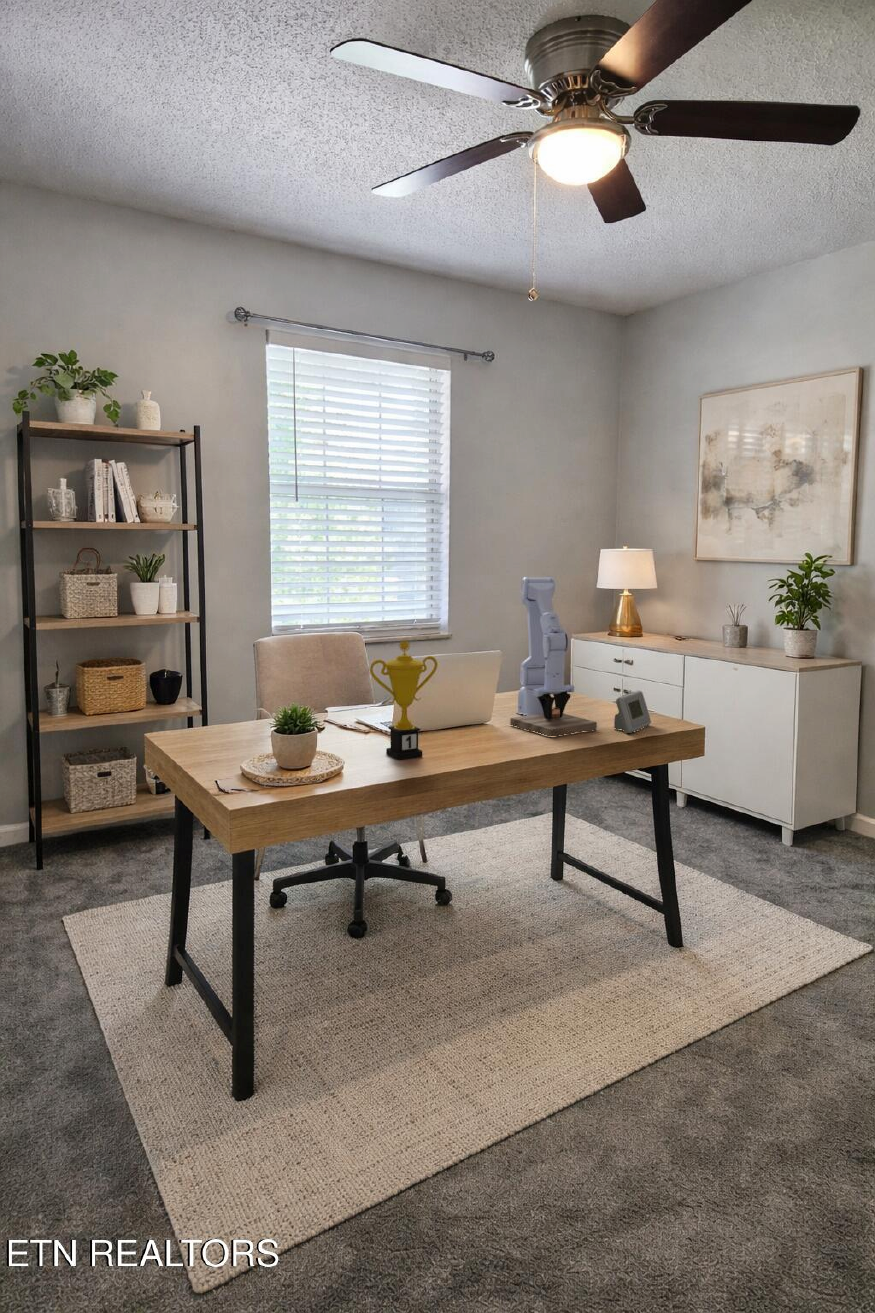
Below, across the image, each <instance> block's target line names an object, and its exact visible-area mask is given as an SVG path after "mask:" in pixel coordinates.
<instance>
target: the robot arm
mask: <svg viewBox="0 0 875 1313" xmlns="http://www.w3.org/2000/svg"><path fill="white" fill-rule="evenodd" d="M555 591H556V583H555V579H554V578H553V577H552V576H549V577H538V576H537V577H535V576H534V577H527V576H524V577H522V579H521V581H520V600H521V604H522V605H524V606H525V607H526V612H527V614H526V616H527V635H528V636H527V638H528V640H527V641H528V643H527V644H528V657H527V658H526V659H524V660H523V661H522V662H521V663H520V671H519V680H520V681H519V683H520V684H521V686H522V687H520V689H519V691H518V694H517V711H515V714H518V713H522V714H525V715H534V714H541V713H544V717H545V719H551V716H552V707H558V708H560V718H562V715H563V714H564V712H565V708H566V706H567V703H568V701H569V700H570V698H571V694H570V693H575V685H572V684H565V660H566V652H567V651H568V648H569V637H568V633H567V631H565V629H563V628H562V624H561V619H560V616H559V615H558V614H557V613H555V612H554V607H553V597H554V594H555ZM552 695H553V697H552ZM525 715H524V716H525Z"/></svg>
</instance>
